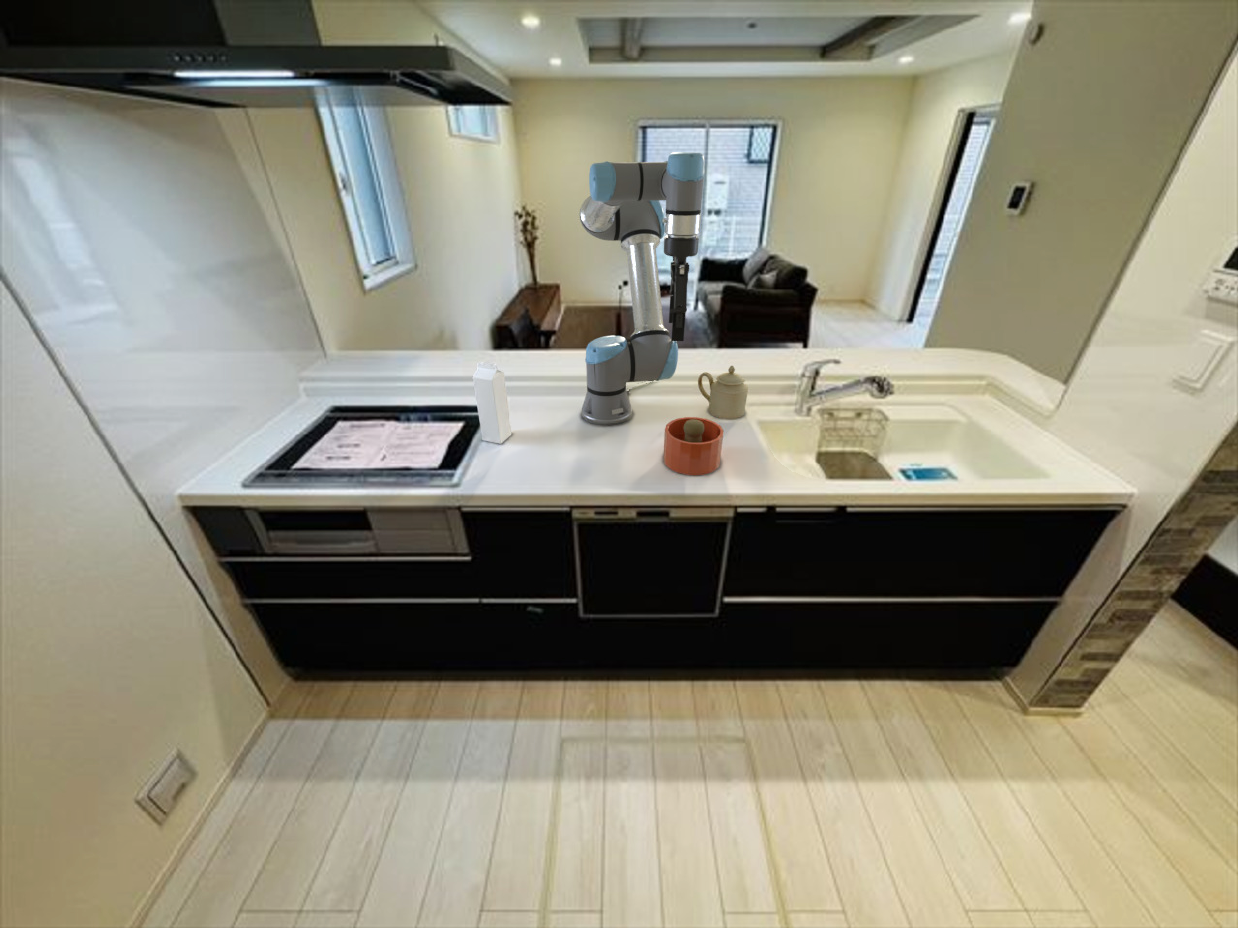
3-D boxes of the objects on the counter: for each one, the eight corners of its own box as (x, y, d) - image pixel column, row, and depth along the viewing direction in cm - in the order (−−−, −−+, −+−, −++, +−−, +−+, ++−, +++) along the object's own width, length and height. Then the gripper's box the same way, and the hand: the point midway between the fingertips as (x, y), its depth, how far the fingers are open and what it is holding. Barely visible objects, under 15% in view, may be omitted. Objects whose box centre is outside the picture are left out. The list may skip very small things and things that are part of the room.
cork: (702, 466, 132) (706, 428, 126) (678, 464, 133) (681, 426, 127) (703, 454, 137) (707, 417, 131) (680, 452, 138) (683, 415, 132)
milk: (493, 431, 149) (483, 357, 138) (512, 434, 148) (502, 360, 136) (482, 440, 144) (470, 365, 133) (501, 444, 143) (490, 368, 131)
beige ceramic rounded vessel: (695, 417, 157) (699, 370, 149) (696, 402, 166) (699, 357, 158) (745, 420, 155) (752, 373, 147) (743, 405, 164) (749, 359, 156)
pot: (662, 445, 142) (664, 416, 137) (716, 447, 141) (720, 417, 136) (664, 474, 129) (665, 443, 125) (723, 476, 129) (727, 444, 124)
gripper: (662, 227, 123) (658, 315, 134) (666, 245, 102) (661, 348, 113) (694, 227, 123) (687, 316, 134) (704, 245, 102) (696, 349, 113)
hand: (675, 331), depth 124 cm, fingers open, 13 cm apart
